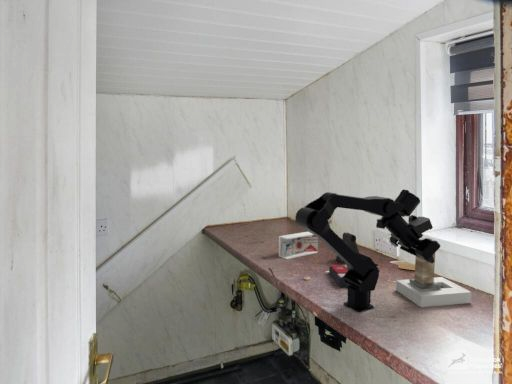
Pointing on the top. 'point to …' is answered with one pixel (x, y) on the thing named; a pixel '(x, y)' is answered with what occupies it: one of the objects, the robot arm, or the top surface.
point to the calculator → (339, 274)
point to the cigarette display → (297, 245)
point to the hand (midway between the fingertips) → (428, 260)
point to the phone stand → (349, 244)
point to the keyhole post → (424, 273)
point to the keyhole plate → (434, 293)
